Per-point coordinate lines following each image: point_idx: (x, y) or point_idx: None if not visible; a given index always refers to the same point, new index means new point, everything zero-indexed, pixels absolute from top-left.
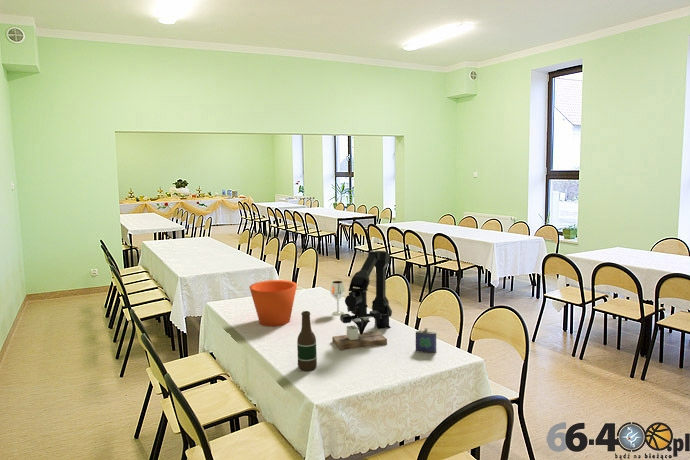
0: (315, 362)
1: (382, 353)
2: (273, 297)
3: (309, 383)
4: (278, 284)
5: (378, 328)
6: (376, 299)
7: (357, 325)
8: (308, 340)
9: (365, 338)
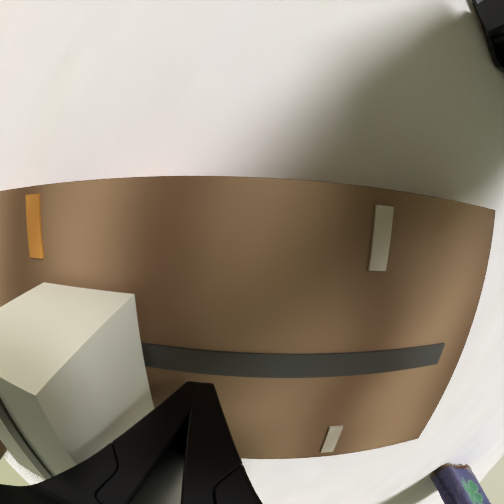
0: (1, 453)
1: (285, 493)
2: None
3: (27, 475)
4: None
5: (494, 58)
6: None
7: (93, 487)
8: None
9: (252, 401)
